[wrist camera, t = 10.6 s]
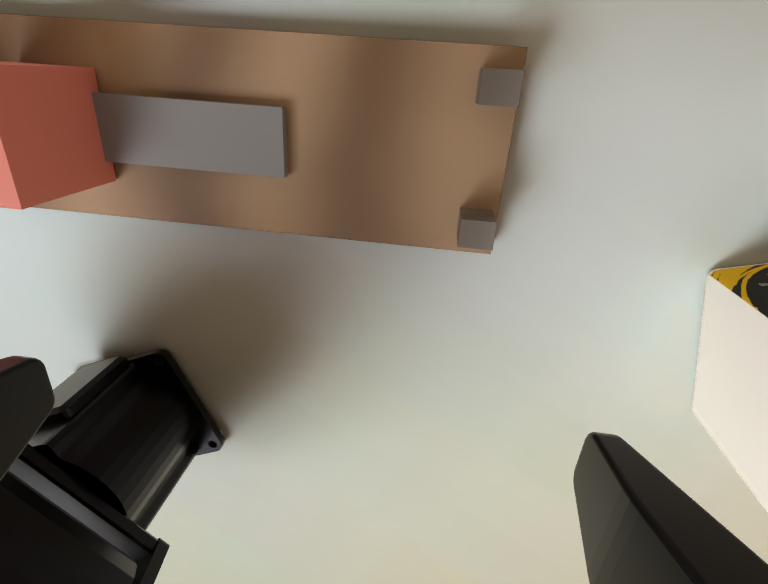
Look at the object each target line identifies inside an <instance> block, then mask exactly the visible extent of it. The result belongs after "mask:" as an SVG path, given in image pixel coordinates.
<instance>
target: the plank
mask: <svg viewBox="0 0 768 584" xmlns="http://www.w3.org/2000/svg"><path fill="white" fill-rule="evenodd" d="M526 53H527V47H515V46H499V45H484V44H468V43H452V42H437V41H421V40H406V39H390V38H374V37H359V36H343V35H327V34H312V33H296V32H280V31H265V30H249V29H233V28H218V27H202V26H187V25H171V24H155V23H140V22H124V21H108V20H93V19H77V18H61V17H46V16H30V15H15V14H0V61H4V62H23V63H37V64H50V65H64V66H77V67H91V68H94V69H95V74H96V79H97V84H98V89H99V92H102V93H115V94H128V95H141V96H154V97H166V98H179V99H192V100H205V101H218V102H230V103H243V104H256V105H269V106H282V107H286V132H287V165H288V176H287V177H285V178H280V177H269V176H258V175H247V174H236V173H225V172H214V171H203V170H192V169H181V168H170V167H159V166H149V165H138V164H127V163H116V162H113V166H114V171H115V176H116V181H114V182H110V183H107V184H104V185H100V186H97V187H94V188H91V189H87V190H84V191H81V192H78V193H74V194H71V195H68V196H64V197H61V198H58V199H55V200H51V201H48V202H45V203H42V204H38V205H35V206H32V207H35V208H45V209H54V210H64V211H74V212H84V213H94V214H103V215H113V216H123V217H133V218H143V219H152V220H162V221H172V222H182V223H192V224H201V225H211V226H221V227H231V228H241V229H250V230H260V231H270V232H280V233H290V234H299V235H309V236H319V237H329V238H339V239H348V240H358V241H368V242H378V243H388V244H398V245H407V246H417V247H427V248H437V249H447V250H456V251H466V252H476V253H486V254H491V251H492V249H493V244H494V238H495V233H496V227H497V221H496V220H497V215H498V209H499V203H500V198H501V192H502V187H503V181H504V176H505V170H506V164H507V159H508V153H509V148H510V142H511V137H512V131H513V125H514V120H515V114H516V109H517V107H518V106H519V100H520V94H521V89H522V83H523V78H524V72H525V70H524V64H525V59H526Z"/></svg>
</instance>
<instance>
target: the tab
mask: <svg viewBox="0 0 768 584" xmlns="http://www.w3.org/2000/svg"><path fill="white" fill-rule="evenodd" d="M113 162H116V163H127V164H138V165H149V166H159V167H170V168H181V169H192V170H203V171H214V172H225V173H236V174H247V175H258V176H269V177H280V178H285V177H287V176H288V165H287V132H286V107H282V106H269V105H256V104H243V103H230V102H218V101H205V100H192V99H179V98H166V97H154V96H141V95H128V94H115V93H102V92H99V89H98V84H97V79H96V74H95V69H94V68H91V67H77V66H64V65H50V64H37V63H23V62H4V61H0V207H2V208H12V209H25V208H29V207H32V206H35V205H38V204H42V203H45V202H48V201H51V200H55V199H58V198H61V197H64V196H68V195H71V194H74V193H78V192H81V191H84V190H87V189H91V188H94V187H97V186H100V185H104V184H107V183H110V182H114V181H116V176H115V171H114V166H113Z"/></svg>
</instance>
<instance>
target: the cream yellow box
mask: <svg viewBox="0 0 768 584" xmlns="http://www.w3.org/2000/svg"><path fill="white" fill-rule="evenodd" d="M692 410H693V413H694V415H695V416H696V417H697V419H698V420H699V422H700V423H701V424H702V426H703V427H704V428H705V430H706V431H707V432H708V434H709V435H710V436H711V438H712V439H713V440H714V442H715V443H716V444H717V446H718V447H719V448H720V450H721V451H722V452H723V454H724V455H725V456H726V458H727V459H728V460H729V462H730V463H731V464H732V466H733V467H734V468H735V470H736V471H737V472H738V474H739V475H740V476H741V478H742V479H743V480H744V482H745V483H746V484H747V486H748V487H749V488H750V490H751V491H752V492H753V494H754V495H755V496H756V498H757V499H758V500H759V502H760V503H761V504H762V506H763V507H764V509H765V510H766V511H767V513H768V263H763V264H754V265H746V266H737V267H728V268H720V269H715V270H712V271H711V272H709V273H708V275H707V277H706V285H705V294H704V303H703V312H702V321H701V330H700V339H699V347H698V356H697V365H696V374H695V383H694V392H693V401H692Z"/></svg>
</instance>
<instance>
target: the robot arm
mask: <svg viewBox="0 0 768 584" xmlns="http://www.w3.org/2000/svg"><path fill="white" fill-rule="evenodd" d="M159 358H160V359H162V360H163V361H161V360H160V359H159ZM224 442H225V439H224V437H223V435H222V434H221V432H220V431H219V429H218V428H217V426H216V424H215V423H214V421H213V420H212V418H211V417H210V415H209V414H208V412H207V410H206V409H205V407H204V406H203V404H202V403H201V401H200V399H199V398H198V396H197V395H196V393H195V392H194V390H193V388H192V387H191V385H190V384H189V382H188V381H187V379H186V377H185V376H184V374H183V373H182V371H181V370H180V368H179V366H178V365H177V363H176V362H175V360H174V359H173V357H172V355H171V354H170V353H169V352H168V351H166V350H164V349H157V350H153V351H150V352H146V353H143V354H139V355H136V356H132V357H129V358H126V357H125V356H116V357H113V358H109V359H106V360H102V361H99V362H96V363H92V364H89V365H85V366H83V367H81V368H80V369H79V370H78V371H76V372H75V373H74V374H72V375H71V376H70V377H69V378H67V379H66V380H65V381H64V382H62V383H61V384H60V385H59V386H57V387H56V388H55V389H54V390H52V387H51V383H50V380H49V377H48V374H47V371H46V368H45V366H44V364H43V363H42V362H41V361H40V360H38V359H36V358H30V357H22V356H11V357H7V358H3V359H0V584H154V582H155V579H156V577H157V575H158V572H159V570H160V568H161V565H162V563H163V560H164V558H165V556H166V553H167V551H168V549H169V546H170V545H169V544H167V543H166V542H165V541H163V540H162V539H161V538H159V539H156V538H155V537H154V536H152V535H151V534H150V533H148V532H147V531H146V529H147V528H148V526H149V525H150V523H151V522H152V520H153V519H154V517H155V516H156V514H157V513H158V511H159V510H160V508H161V507H162V505H163V503H164V502H165V500H166V499H167V497H168V496H169V494H170V493H171V491H172V490H173V488H174V487H175V485H176V484H177V482H178V481H179V479H180V478H181V476H182V475H183V473H184V472H185V470H186V469H187V467H188V466H189V464H190V463H191V461H192V460H193V458H194V457H195V456H196V455H201V454H206V453H210V452H215V451H218V450H220V449H221V447H222V446H223V444H224ZM574 490H575V496H576V503H577V509H578V515H579V522H580V528H581V534H582V540H583V547H584V553H585V559H586V565H587V572H588V577H589V582H590V584H768V564H767V563H766V562H765V561H763V560H762V559H761V558H760V557H759V556H758V555H756V554H755V553H754V552H753V551H752V550H751V549H750V548H748V547H747V546H746V545H745V544H744V543H743V542H741V541H740V540H739V539H738V538H737V537H736V536H734V535H733V534H732V533H731V532H730V531H729V530H728V529H726V528H725V527H724V526H723V525H722V524H721V523H719V522H718V521H717V520H716V519H715V518H714V517H712V516H711V515H710V514H709V513H708V512H707V511H706V510H704V509H703V508H702V507H701V506H700V505H699V504H697V503H696V502H695V501H694V500H693V499H692V498H690V497H689V496H688V495H687V494H686V493H685V492H683V491H682V490H681V489H680V488H679V487H678V486H677V485H675V484H674V483H673V482H672V481H671V480H670V479H668V478H667V477H666V476H665V475H664V474H663V473H661V472H660V471H659V470H658V469H657V468H656V467H655V466H653V465H652V464H651V463H650V462H649V461H648V460H646V459H645V458H644V457H643V456H642V455H641V454H639V453H638V452H637V451H636V450H635V449H634V448H633V447H631V446H630V445H629V444H628V443H627V442H626V441H624V440H623V439H622V438H621V437H619V436H617V435H613V434H605V433H597V432H592V433H590V434H588V436H587V437H586V439H585V441H584V444H583V447H582V450H581V453H580V456H579V459H578V462H577V465H576V467H575V471H574Z"/></svg>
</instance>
